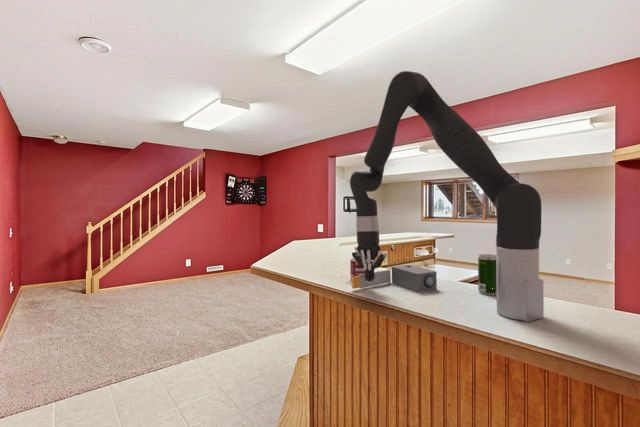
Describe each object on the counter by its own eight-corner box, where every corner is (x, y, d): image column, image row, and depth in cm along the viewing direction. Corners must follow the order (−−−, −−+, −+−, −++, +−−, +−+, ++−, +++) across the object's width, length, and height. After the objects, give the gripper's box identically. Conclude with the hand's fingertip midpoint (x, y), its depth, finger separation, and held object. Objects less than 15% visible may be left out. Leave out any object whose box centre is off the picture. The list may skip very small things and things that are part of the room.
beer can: (491, 296, 96) (491, 257, 96) (474, 292, 101) (474, 255, 100) (500, 293, 99) (500, 255, 99) (484, 289, 104) (483, 253, 103)
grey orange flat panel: (353, 289, 106) (353, 276, 106) (351, 288, 107) (350, 275, 107) (392, 282, 115) (391, 269, 115) (389, 281, 116) (389, 268, 116)
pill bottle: (355, 282, 118) (354, 252, 118) (347, 278, 124) (347, 250, 123) (369, 280, 120) (369, 251, 120) (361, 277, 126) (361, 249, 126)
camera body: (437, 289, 105) (437, 270, 105) (418, 292, 102) (418, 272, 102) (409, 280, 118) (409, 263, 118) (391, 282, 115) (391, 265, 115)
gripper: (345, 230, 109) (347, 280, 109) (378, 230, 100) (381, 285, 100) (357, 229, 114) (360, 276, 114) (390, 228, 105) (392, 280, 105)
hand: (369, 280), depth 107 cm, fingers closed
